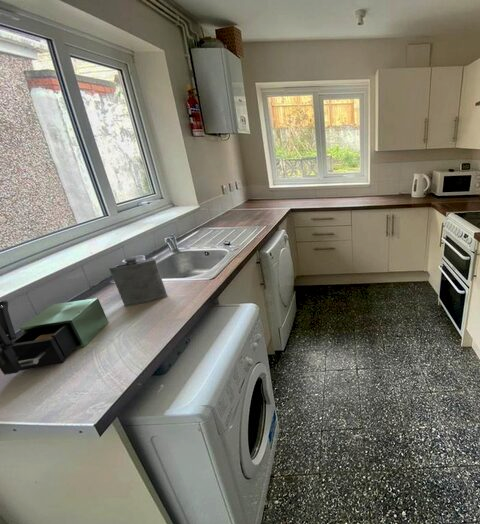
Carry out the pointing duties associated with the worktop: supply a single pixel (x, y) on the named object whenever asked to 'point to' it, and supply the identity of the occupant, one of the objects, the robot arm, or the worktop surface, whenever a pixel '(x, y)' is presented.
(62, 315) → the fryer
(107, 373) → the worktop surface
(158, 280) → the flask
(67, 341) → the fryer drawer
